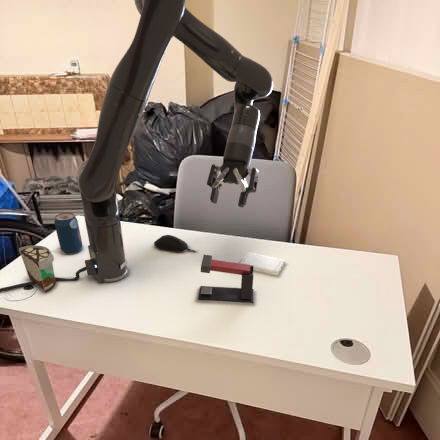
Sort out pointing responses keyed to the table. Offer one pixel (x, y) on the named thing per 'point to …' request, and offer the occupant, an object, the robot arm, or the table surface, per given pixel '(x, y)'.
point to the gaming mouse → (171, 244)
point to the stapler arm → (223, 266)
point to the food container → (39, 266)
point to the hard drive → (263, 263)
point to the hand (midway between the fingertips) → (226, 204)
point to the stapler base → (230, 291)
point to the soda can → (68, 233)
